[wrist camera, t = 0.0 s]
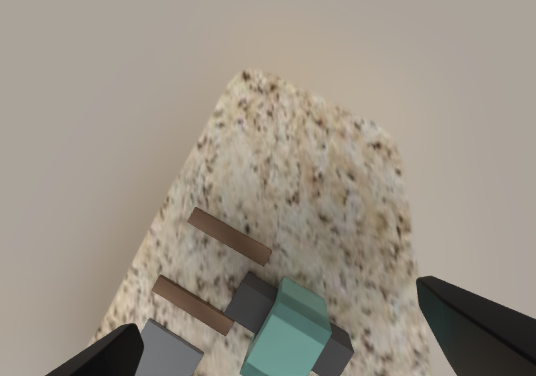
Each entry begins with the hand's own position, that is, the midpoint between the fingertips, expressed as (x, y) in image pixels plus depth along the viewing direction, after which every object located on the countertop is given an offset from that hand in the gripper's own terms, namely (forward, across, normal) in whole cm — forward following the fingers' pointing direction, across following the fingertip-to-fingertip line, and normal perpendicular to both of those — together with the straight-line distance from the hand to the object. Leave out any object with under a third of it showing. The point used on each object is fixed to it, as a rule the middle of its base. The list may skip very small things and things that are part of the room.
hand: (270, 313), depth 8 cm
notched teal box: (+13, +2, +11) cm, 17 cm away
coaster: (+13, +14, +13) cm, 23 cm away
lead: (+14, +2, +11) cm, 17 cm away
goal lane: (+14, +8, +6) cm, 17 cm away
